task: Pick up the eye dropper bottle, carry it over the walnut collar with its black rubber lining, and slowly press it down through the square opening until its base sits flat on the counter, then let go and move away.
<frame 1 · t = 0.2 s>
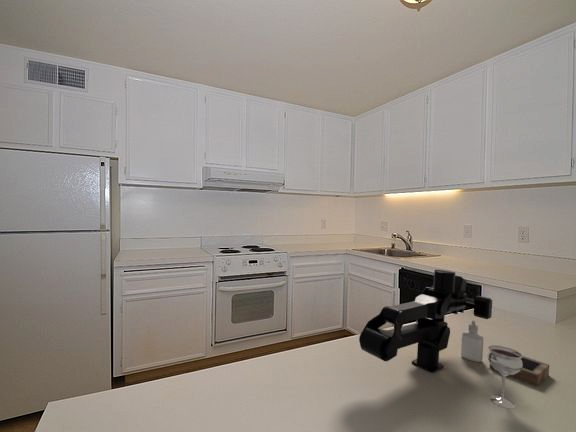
hand: (469, 299, 101), 16 cm above the countertop, tool horizontal, fingers open, 9 cm apart
eye dropper bottle: (471, 359, 92), on the countertop
wineglass: (502, 402, 70), on the countertop
rubber-lined collar: (518, 371, 85), on the countertop
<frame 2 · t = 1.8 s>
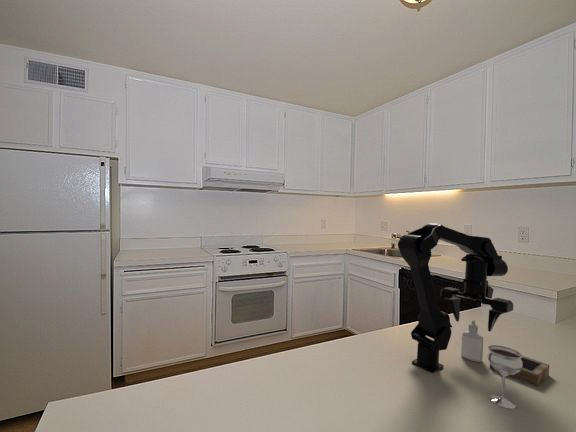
hand: (473, 326, 92), 10 cm above the countertop, tool pointing down, fingers open, 9 cm apart
nothing on the countertop moved.
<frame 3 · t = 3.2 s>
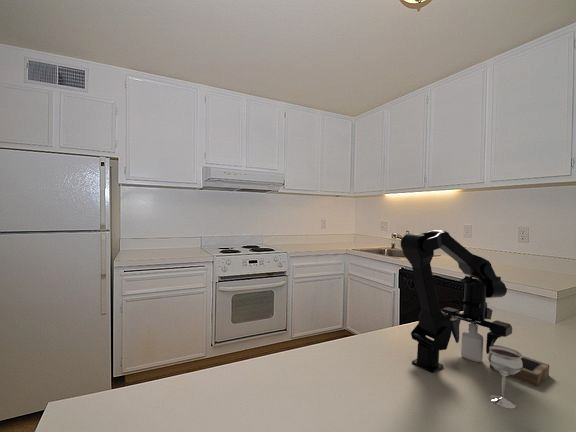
hand: (472, 347, 92), 3 cm above the countertop, tool pointing down, fingers closed on eye dropper bottle, 8 cm apart
eye dropper bottle: (471, 359, 92), on the countertop, touching gripper
everything else where it was.
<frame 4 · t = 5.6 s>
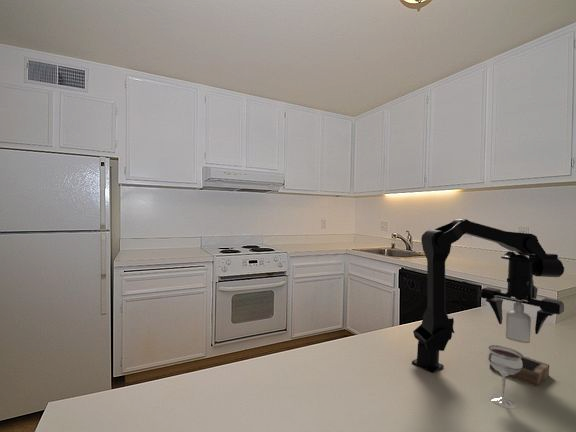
hand: (517, 328, 86), 12 cm above the countertop, tool pointing down, fingers closed on eye dropper bottle, 8 cm apart
eye dropper bottle: (517, 340, 86), point 9 cm above the countertop, touching gripper
everything else where it was.
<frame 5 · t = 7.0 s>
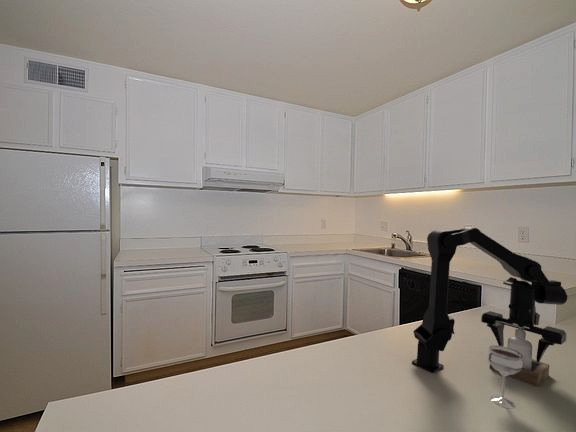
hand: (519, 355, 85), 5 cm above the countertop, tool pointing down, fingers closed on eye dropper bottle, 8 cm apart
eye dropper bottle: (518, 367, 85), point 1 cm above the countertop, touching gripper
everything else where it was.
when the fingers open (5 cm above the countertop, at t = 8.2 s): eye dropper bottle drops 1 cm, resting in rubber-lined collar.
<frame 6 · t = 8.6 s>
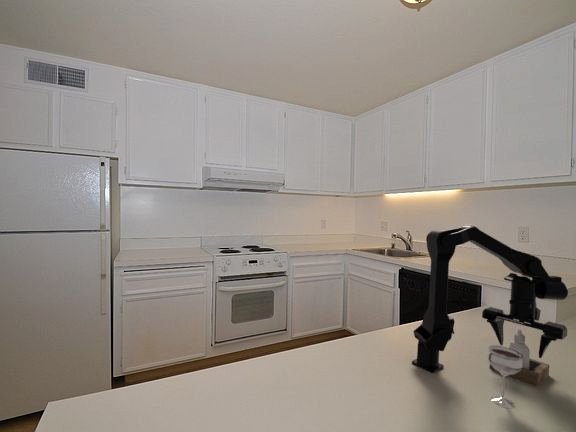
hand: (520, 351, 85), 6 cm above the countertop, tool pointing down, fingers open, 9 cm apart
eye dropper bottle: (518, 372, 85), resting in rubber-lined collar
everything else where it was.
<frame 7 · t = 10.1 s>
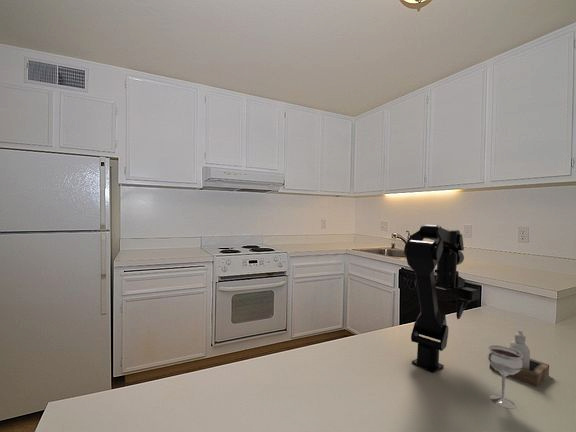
hand: (443, 314, 97), 12 cm above the countertop, tool pointing down, fingers open, 9 cm apart
nothing on the countertop moved.
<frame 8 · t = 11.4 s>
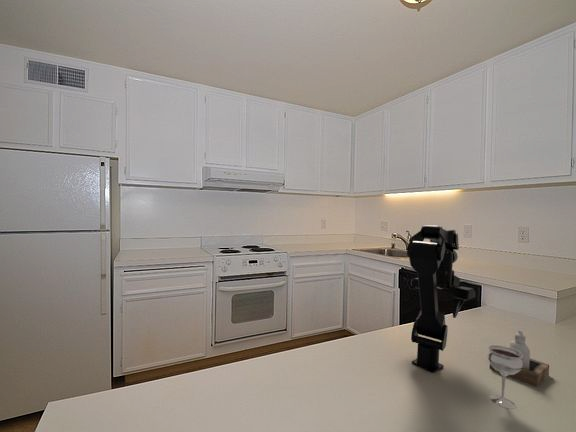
hand: (440, 313, 97), 12 cm above the countertop, tool pointing down, fingers open, 9 cm apart
nothing on the countertop moved.
at the end: eye dropper bottle 0.1 cm off-centre on the rubber-lined collar, point 0.0 cm above the rubber-lined collar's base; eye dropper bottle tilted 0°; the gripper is holding nothing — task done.
